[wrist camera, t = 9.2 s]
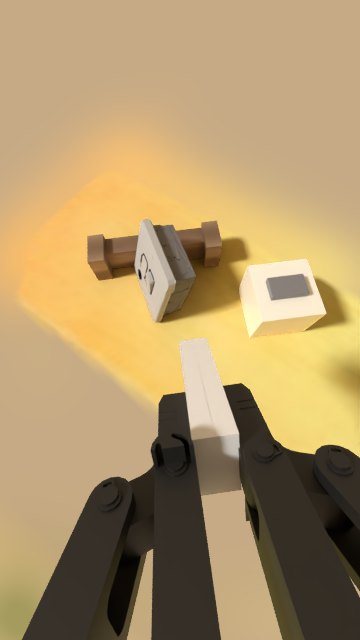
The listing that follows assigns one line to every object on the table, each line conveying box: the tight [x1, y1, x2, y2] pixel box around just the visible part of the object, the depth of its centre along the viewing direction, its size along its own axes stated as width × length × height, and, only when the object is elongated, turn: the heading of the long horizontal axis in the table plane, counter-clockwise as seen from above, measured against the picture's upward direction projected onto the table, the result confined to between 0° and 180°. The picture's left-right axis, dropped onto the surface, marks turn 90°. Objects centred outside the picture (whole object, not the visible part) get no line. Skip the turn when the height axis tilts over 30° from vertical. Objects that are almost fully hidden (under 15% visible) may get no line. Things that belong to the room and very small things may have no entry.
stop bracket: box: [88, 221, 222, 280], centre depth 36 cm, size 4×17×4 cm, turn 98°
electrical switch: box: [134, 219, 196, 322], centre depth 32 cm, size 9×5×9 cm, turn 20°
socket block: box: [238, 259, 327, 338], centre depth 32 cm, size 7×7×7 cm
